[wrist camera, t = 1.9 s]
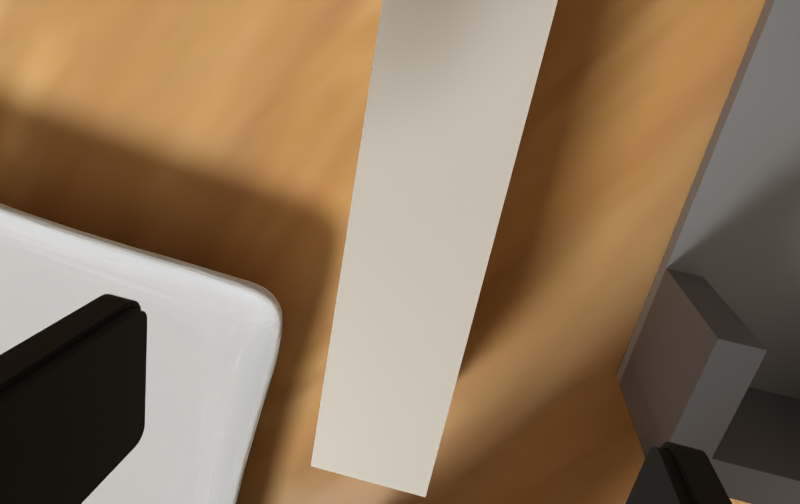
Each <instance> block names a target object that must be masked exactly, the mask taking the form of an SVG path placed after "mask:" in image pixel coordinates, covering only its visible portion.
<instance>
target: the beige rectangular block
mask: <svg viewBox="0 0 800 504" xmlns="http://www.w3.org/2000/svg"><path fill="white" fill-rule="evenodd" d="M557 2H558V0H383V2H382V9H381V15H380V22H379V28H378V34H377V41H376V47H375V54H374V60H373V67H372V73H371V80H370V86H369V93H368V99H367V106H366V112H365V119H364V125H363V132H362V138H361V144H360V151H359V157H358V164H357V170H356V177H355V183H354V190H353V196H352V203H351V209H350V216H349V222H348V229H347V235H346V242H345V248H344V254H343V261H342V267H341V274H340V280H339V287H338V293H337V300H336V306H335V313H334V319H333V326H332V332H331V339H330V345H329V351H328V358H327V364H326V371H325V377H324V384H323V390H322V397H321V403H320V410H319V416H318V423H317V429H316V436H315V442H314V449H313V455H312V461H311V466H312V467H316V468H320V469H323V470H327V471H331V472H334V473H338V474H342V475H345V476H349V477H353V478H356V479H360V480H364V481H367V482H371V483H375V484H378V485H382V486H386V487H389V488H393V489H396V490H400V491H404V492H407V493H411V494H415V495H418V496H422V497H426V494H427V490H428V486H429V482H430V479H431V475H432V471H433V467H434V464H435V460H436V456H437V452H438V449H439V445H440V441H441V437H442V434H443V430H444V426H445V422H446V419H447V415H448V411H449V407H450V404H451V400H452V396H453V392H454V388H455V385H456V381H457V377H458V373H459V370H460V366H461V362H462V358H463V355H464V351H465V347H466V343H467V340H468V336H469V332H470V328H471V325H472V321H473V317H474V313H475V310H476V306H477V302H478V298H479V295H480V291H481V287H482V283H483V280H484V276H485V272H486V268H487V265H488V261H489V257H490V253H491V250H492V246H493V242H494V238H495V235H496V231H497V227H498V223H499V220H500V216H501V212H502V208H503V205H504V201H505V197H506V193H507V189H508V186H509V182H510V178H511V174H512V171H513V167H514V163H515V159H516V156H517V152H518V148H519V144H520V141H521V137H522V133H523V129H524V126H525V122H526V118H527V114H528V111H529V107H530V103H531V99H532V96H533V92H534V88H535V84H536V81H537V77H538V73H539V69H540V66H541V62H542V58H543V54H544V51H545V47H546V43H547V39H548V36H549V32H550V28H551V24H552V21H553V17H554V13H555V9H556V6H557Z"/></svg>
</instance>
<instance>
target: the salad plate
mask: <svg viewBox="0 0 800 504" xmlns="http://www.w3.org/2000/svg"><path fill="white" fill-rule="evenodd" d="M104 294H111V295H115V296H119V297H123V298H127V299H130V300H134V301H137V302H138V303H139V305H140V307H141V310H142V311H144V312H145V313H146V315H147V353H146V396H145V427H144V432H143V435H142V437H141V439H140V441H139V443H138V444H137V445H136V447H135V448H134V449H133V450H132V451H131V452H130V453H129V454H128V455H127V456H126V457H125V458H124V459H123V460H122V461H121V462H120V463H119V465H118V466H117V467H116V468H115V469H114V470H113V471H112V472H111V473H110V474H109V475H108V476H107V477H106V478H105V479H104V480H103V481H102V482H101V483H100V485H99V486H98V487H97V488H96V489H95V490H94V491H93V492H92V493H91V494H90V495H89V496H88V497H87V498H86V499H85V500H84V501H83V502H82V503H81V504H236V503H237V498H238V494H239V490H240V486H241V482H242V478H243V474H244V470H245V467H246V463H247V459H248V455H249V452H250V449H251V445H252V441H253V438H254V434H255V430H256V427H257V424H258V421H259V417H260V414H261V411H262V408H263V404H264V401H265V398H266V395H267V392H268V388H269V385H270V382H271V379H272V375H273V372H274V369H275V365H276V361H277V357H278V353H279V347H280V341H281V335H282V321H283V318H282V310H281V307H280V304H279V302H278V301H277V299H276V298H275V296H274V295H273V294H272V293H271V292H270V291H269V290H267V289H266V288H264V287H262V286H260V285H258V284H256V283H253V282H251V281H248V280H244V279H241V278H238V277H234V276H231V275H228V274H224V273H221V272H218V271H214V270H211V269H208V268H204V267H201V266H198V265H194V264H191V263H188V262H184V261H181V260H178V259H174V258H171V257H168V256H164V255H160V254H157V253H153V252H150V251H146V250H143V249H139V248H136V247H132V246H129V245H125V244H122V243H119V242H116V241H113V240H109V239H106V238H103V237H100V236H96V235H93V234H90V233H87V232H83V231H80V230H77V229H74V228H71V227H68V226H65V225H62V224H59V223H56V222H53V221H50V220H47V219H44V218H41V217H38V216H35V215H32V214H29V213H26V212H24V211H21V210H18V209H15V208H13V207H10V206H7V205H4V204H2V203H0V355H1V354H2V353H4V352H6V351H7V350H9V349H11V348H13V347H14V346H16V345H18V344H19V343H21V342H23V341H25V340H26V339H28V338H30V337H31V336H33V335H35V334H36V333H38V332H40V331H42V330H43V329H45V328H47V327H48V326H50V325H52V324H54V323H55V322H57V321H59V320H60V319H62V318H64V317H65V316H67V315H69V314H71V313H72V312H74V311H76V310H77V309H79V308H81V307H83V306H84V305H86V304H88V303H89V302H91V301H93V300H95V299H96V298H98V297H100V296H101V295H104Z"/></svg>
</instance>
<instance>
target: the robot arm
mask: <svg viewBox="0 0 800 504" xmlns="http://www.w3.org/2000/svg"><path fill="white" fill-rule="evenodd" d="M146 353H147V315H146V313H145V312H144V311H142V310H141V307H140V305H139V303H138V302H137V301H134V300H130V299H127V298H123V297H119V296H115V295H111V294H104V295H101V296H100V297H98V298H96V299H95V300H93V301H91V302H89V303H88V304H86V305H84V306H83V307H81V308H79V309H77V310H76V311H74V312H72V313H71V314H69V315H67V316H65V317H64V318H62V319H60V320H59V321H57V322H55V323H54V324H52V325H50V326H48V327H47V328H45V329H43V330H42V331H40V332H38V333H36V334H35V335H33V336H31V337H30V338H28V339H26V340H25V341H23V342H21V343H19V344H18V345H16V346H14V347H13V348H11V349H9V350H7V351H6V352H4V353H2V354H1V355H0V504H81V503H82V502H83V501H84V500H85V499H86V498H87V497H88V496H89V495H90V494H91V493H92V492H93V491H94V490H95V489H96V488H97V487H98V486H99V485H100V483H101V482H102V481H103V480H104V479H105V478H106V477H107V476H108V475H109V474H110V473H111V472H112V471H113V470H114V469H115V468H116V467H117V466H118V465H119V463H120V462H121V461H122V460H123V459H124V458H125V457H126V456H127V455H128V454H129V453H130V452H131V451H132V450H133V449H134V448H135V447H136V445H137V444H138V443H139V441H140V439H141V437H142V435H143V432H144V427H145V396H146ZM626 504H732V503H731V501H730V499H729V497H728V495H727V493H726V491H725V489H724V487H723V485H722V484H721V482H720V480H719V478H718V476H717V474H716V472H715V470H714V468H713V466H712V464H711V462H710V460H709V458H708V456H707V455H706V454H705V452H704V451H702V450H699V449H695V448H691V447H688V446H684V445H680V444H676V443H673V442H669V441H668V442H665V443H664V444H663V445H662V446H661V447H660V448H658V447H652V448H651V449H650V450H649V452H648V454H647V456H646V459H645V461H644V463H643V465H642V468H641V470H640V472H639V475H638V477H637V479H636V481H635V484H634V486H633V488H632V491H631V493H630V495H629V497H628V500H627V502H626Z"/></svg>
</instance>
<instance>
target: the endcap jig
mask: <svg viewBox="0 0 800 504" xmlns="http://www.w3.org/2000/svg"><path fill="white" fill-rule="evenodd" d="M616 376H617V378H618V381H619V384H620V387H621V390H622V393H623V395H624V398H625V401H626V404H627V407H628V410H629V412H630V415H631V418H632V421H633V424H634V426H635V429H636V432H637V435H638V438H639V441H640V443H641V446H642V449H643V452H644V455H645V458H646V456H647V454H648V452H649V450H650V449H651V448H652V447H658V448H660V447H661V446H662V445H663V444H664V443H665V442H668V441H669V442H673V443H676V444H680V445H684V446H688V447H691V448H695V449H699V450H702V451H704V452H705V454H706V455H707V456H708V458H709V460H710V462H711V464H712V466H713V468H714V470H715V472H716V474H717V476H718V478H719V480H720V482H721V484H722V485H723V487H724V489H725V491H726V493H727V495H728V497H729V498H732V499H736V500H740V501H744V502H748V503H751V504H800V0H766V2H765V5H764V7H763V10H762V12H761V15H760V17H759V20H758V22H757V25H756V27H755V30H754V32H753V35H752V37H751V40H750V42H749V45H748V47H747V50H746V52H745V55H744V57H743V60H742V62H741V65H740V67H739V70H738V72H737V75H736V77H735V80H734V82H733V85H732V87H731V90H730V92H729V95H728V97H727V100H726V102H725V105H724V107H723V110H722V112H721V115H720V117H719V120H718V122H717V125H716V127H715V130H714V132H713V135H712V137H711V140H710V142H709V145H708V147H707V150H706V152H705V155H704V157H703V160H702V162H701V165H700V167H699V170H698V172H697V175H696V177H695V180H694V182H693V185H692V187H691V190H690V192H689V195H688V197H687V200H686V202H685V205H684V207H683V210H682V212H681V215H680V217H679V220H678V222H677V225H676V227H675V230H674V232H673V235H672V237H671V240H670V242H669V245H668V247H667V250H666V252H665V255H664V257H663V260H662V262H661V265H660V267H659V270H658V272H657V275H656V277H655V280H654V282H653V285H652V287H651V290H650V292H649V295H648V297H647V300H646V302H645V305H644V307H643V310H642V312H641V315H640V317H639V320H638V322H637V325H636V327H635V330H634V332H633V335H632V337H631V340H630V342H629V345H628V347H627V350H626V352H625V355H624V357H623V360H622V362H621V365H620V367H619V370H618V372H617V375H616Z"/></svg>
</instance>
